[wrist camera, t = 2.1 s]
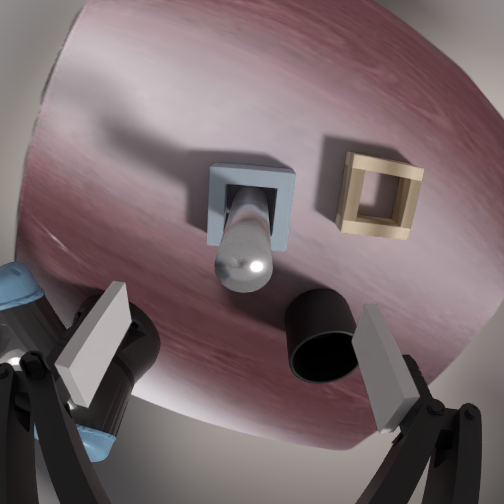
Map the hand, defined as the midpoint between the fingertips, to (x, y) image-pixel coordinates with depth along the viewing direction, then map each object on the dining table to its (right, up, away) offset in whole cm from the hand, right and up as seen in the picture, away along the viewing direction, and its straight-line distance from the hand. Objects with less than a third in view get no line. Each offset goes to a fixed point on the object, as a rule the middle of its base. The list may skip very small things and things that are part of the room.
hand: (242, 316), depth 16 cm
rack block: (+15, +11, +18) cm, 26 cm away
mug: (+11, -6, +27) cm, 29 cm away
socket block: (0, +9, +19) cm, 22 cm away
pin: (0, +9, +19) cm, 22 cm away
